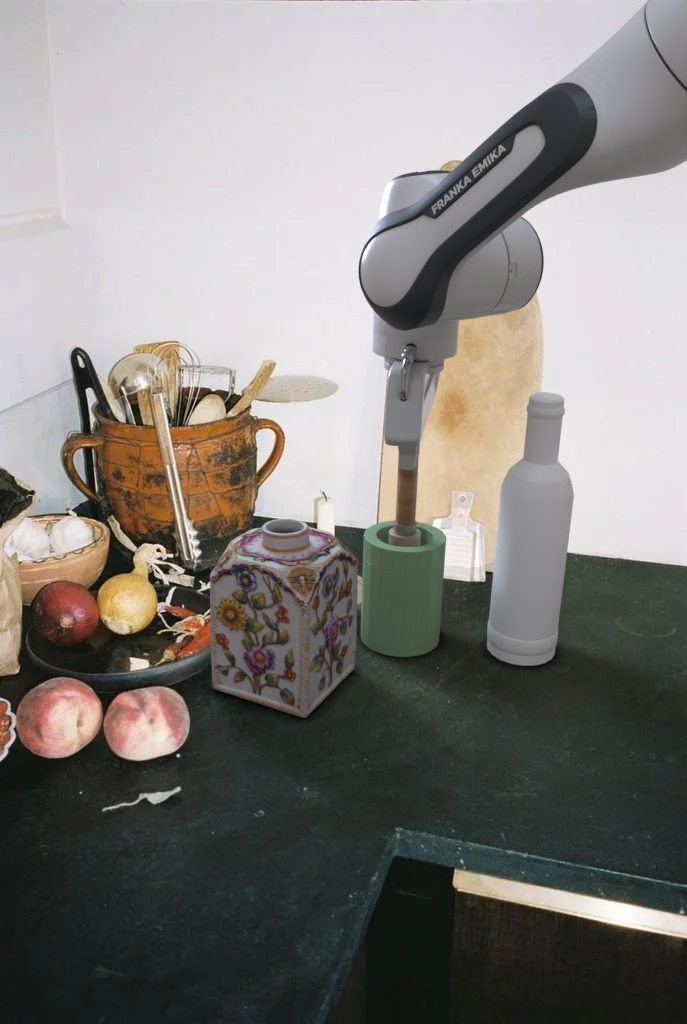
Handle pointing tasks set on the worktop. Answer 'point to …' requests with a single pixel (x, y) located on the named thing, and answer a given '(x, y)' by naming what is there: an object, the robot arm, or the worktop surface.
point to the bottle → (531, 542)
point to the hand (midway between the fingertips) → (409, 463)
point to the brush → (406, 509)
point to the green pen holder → (402, 591)
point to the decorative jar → (283, 616)
